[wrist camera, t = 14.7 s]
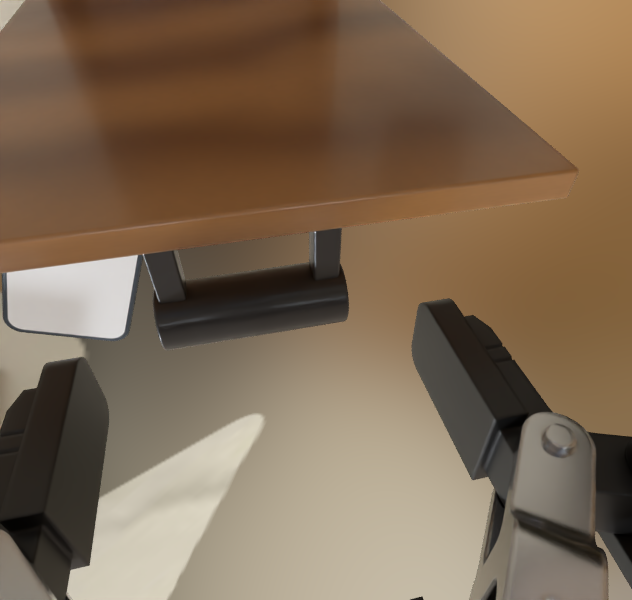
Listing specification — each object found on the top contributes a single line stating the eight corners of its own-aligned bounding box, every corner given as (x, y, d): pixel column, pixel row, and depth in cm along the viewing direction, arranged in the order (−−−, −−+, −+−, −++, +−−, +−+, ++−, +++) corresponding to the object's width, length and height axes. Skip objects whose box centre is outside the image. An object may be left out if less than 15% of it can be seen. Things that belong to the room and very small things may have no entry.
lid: (-188, 265, 7) (-19, 432, 11) (581, 169, 10) (506, 337, 13) (38, -18, 20) (81, 103, 24) (343, -33, 22) (339, 81, 26)
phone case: (130, 330, 39) (162, 153, 30) (128, 344, 38) (161, 164, 29) (6, 316, 36) (1, 112, 27) (0, 331, 35) (-8, 123, 26)
